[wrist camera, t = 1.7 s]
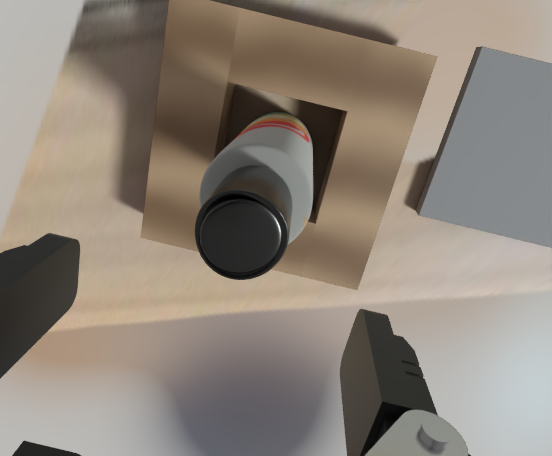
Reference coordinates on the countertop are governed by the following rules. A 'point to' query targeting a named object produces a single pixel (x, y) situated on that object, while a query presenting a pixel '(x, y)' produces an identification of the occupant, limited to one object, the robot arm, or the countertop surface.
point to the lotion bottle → (256, 197)
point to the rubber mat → (497, 151)
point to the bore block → (296, 84)
